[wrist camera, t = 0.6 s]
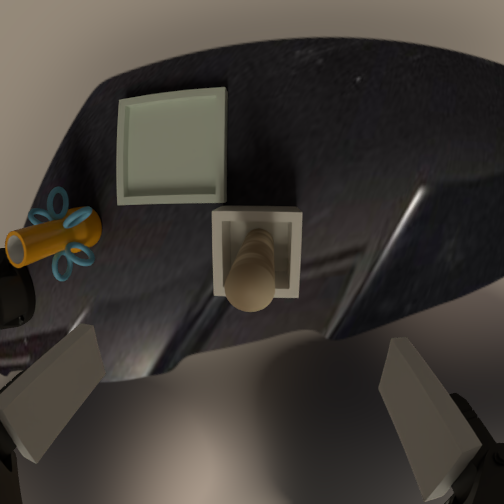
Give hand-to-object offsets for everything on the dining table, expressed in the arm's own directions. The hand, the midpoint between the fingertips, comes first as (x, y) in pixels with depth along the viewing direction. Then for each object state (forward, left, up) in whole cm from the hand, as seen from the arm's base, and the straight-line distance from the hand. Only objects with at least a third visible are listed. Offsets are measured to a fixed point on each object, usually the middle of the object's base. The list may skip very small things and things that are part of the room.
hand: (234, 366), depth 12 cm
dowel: (0, 0, -26) cm, 26 cm away
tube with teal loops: (-25, +2, -26) cm, 37 cm away
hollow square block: (0, 0, -26) cm, 26 cm away
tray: (-11, +12, -26) cm, 31 cm away
